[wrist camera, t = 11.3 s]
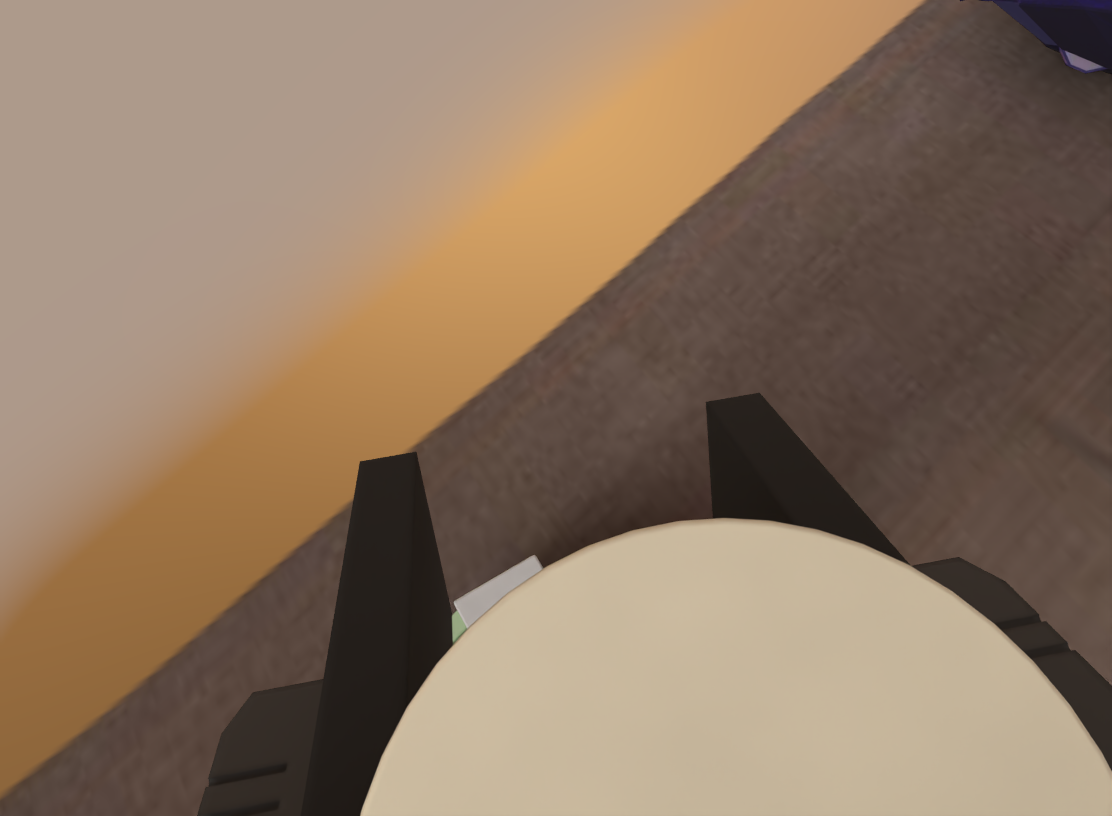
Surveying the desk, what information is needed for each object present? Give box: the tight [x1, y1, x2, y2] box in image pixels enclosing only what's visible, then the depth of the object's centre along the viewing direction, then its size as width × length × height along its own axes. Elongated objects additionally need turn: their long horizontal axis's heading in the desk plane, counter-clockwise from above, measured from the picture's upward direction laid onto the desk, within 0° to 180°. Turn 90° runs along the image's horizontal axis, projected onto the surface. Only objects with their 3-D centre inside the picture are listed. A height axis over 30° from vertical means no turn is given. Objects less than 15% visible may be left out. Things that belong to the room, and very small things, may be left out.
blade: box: [360, 518, 1112, 816], centre depth 11 cm, size 8×8×14 cm
